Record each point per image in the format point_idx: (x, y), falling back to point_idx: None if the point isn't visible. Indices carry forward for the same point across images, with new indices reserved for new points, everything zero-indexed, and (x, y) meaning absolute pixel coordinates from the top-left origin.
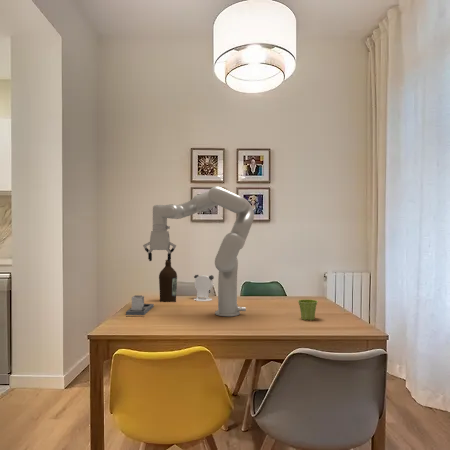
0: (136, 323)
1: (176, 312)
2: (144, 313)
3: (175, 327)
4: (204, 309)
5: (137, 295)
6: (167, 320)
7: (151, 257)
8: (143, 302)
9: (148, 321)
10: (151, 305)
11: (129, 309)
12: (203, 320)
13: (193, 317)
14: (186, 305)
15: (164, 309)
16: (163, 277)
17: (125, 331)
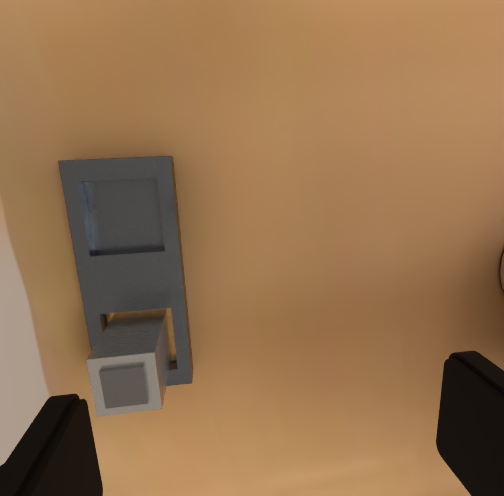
0: (200, 471)
1: (321, 249)
2: (191, 371)
3: (354, 493)
4: (454, 155)
5: (115, 375)
6: (308, 407)
7: (63, 487)
8: (161, 343)
9: (237, 435)
10: (174, 213)
11: (91, 340)
12: None
13: (407, 341)
14: (350, 33)
15: (243, 178)
16: None
17: None
